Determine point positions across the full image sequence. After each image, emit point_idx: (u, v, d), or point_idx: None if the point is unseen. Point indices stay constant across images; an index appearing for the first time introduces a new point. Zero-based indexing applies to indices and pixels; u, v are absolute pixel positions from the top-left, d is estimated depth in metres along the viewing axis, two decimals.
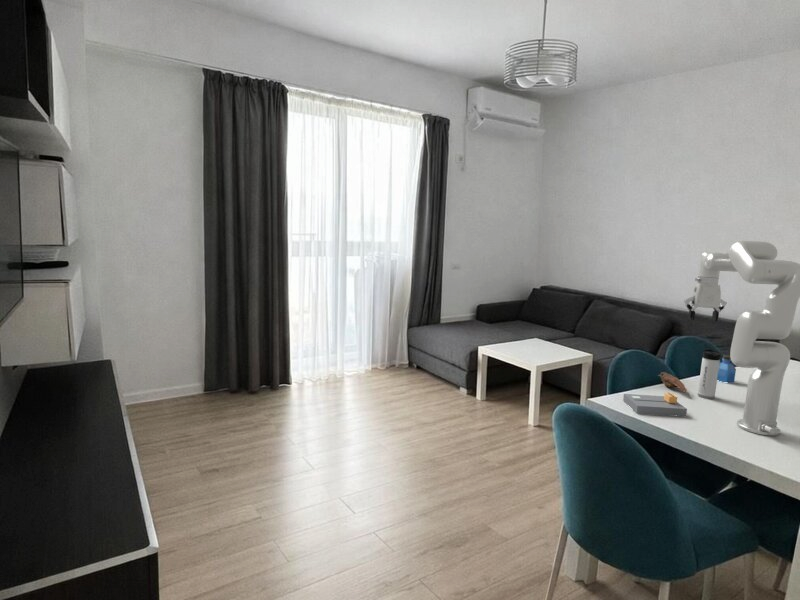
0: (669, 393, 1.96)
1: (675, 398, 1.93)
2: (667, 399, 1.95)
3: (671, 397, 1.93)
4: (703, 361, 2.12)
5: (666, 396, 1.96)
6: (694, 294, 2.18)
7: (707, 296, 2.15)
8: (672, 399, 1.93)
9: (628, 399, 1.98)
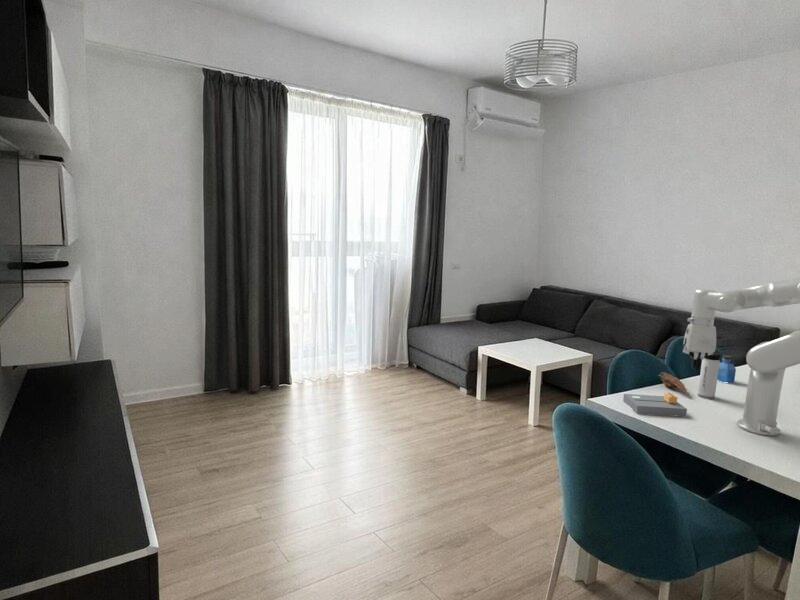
0: (669, 393, 1.96)
1: (675, 398, 1.93)
2: (667, 399, 1.95)
3: (671, 397, 1.93)
4: (703, 361, 2.12)
5: (666, 396, 1.96)
6: (686, 336, 1.91)
7: (701, 339, 1.89)
8: (672, 399, 1.93)
9: (628, 399, 1.98)
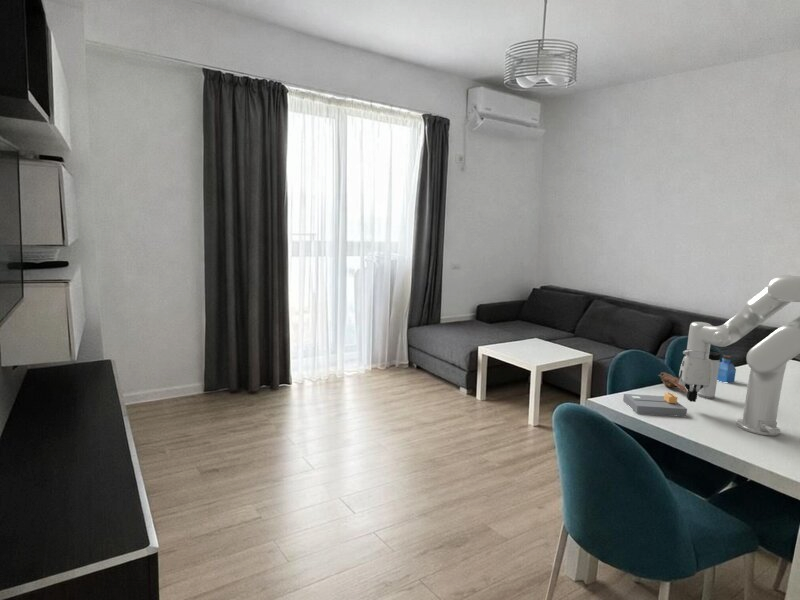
0: (669, 393, 1.96)
1: (675, 398, 1.93)
2: (667, 399, 1.95)
3: (671, 397, 1.93)
4: None
5: (666, 396, 1.96)
6: (682, 369, 1.93)
7: (696, 372, 1.90)
8: (672, 399, 1.93)
9: (628, 399, 1.98)
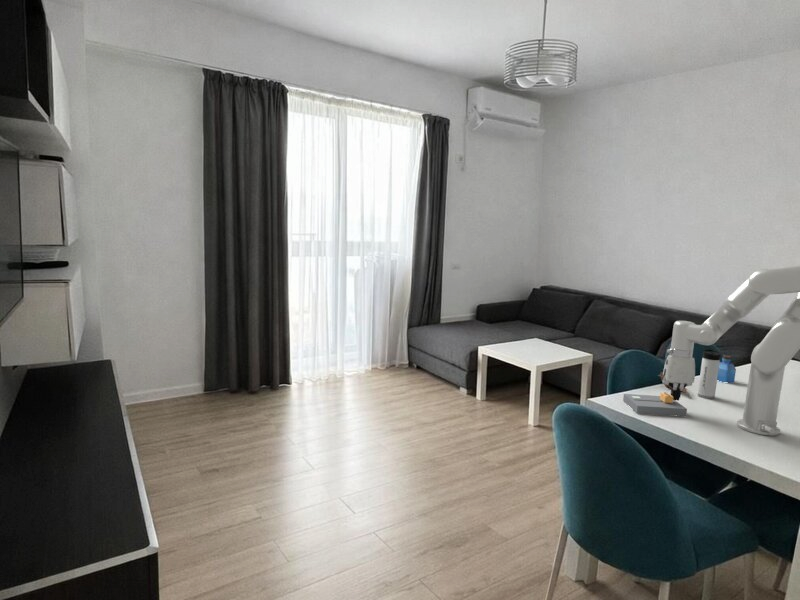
0: (665, 393, 1.96)
1: (671, 398, 1.93)
2: (663, 399, 1.95)
3: (667, 397, 1.93)
4: (703, 361, 2.12)
5: (662, 396, 1.96)
6: (665, 367, 1.94)
7: (680, 371, 1.91)
8: (668, 399, 1.93)
9: (628, 399, 1.98)
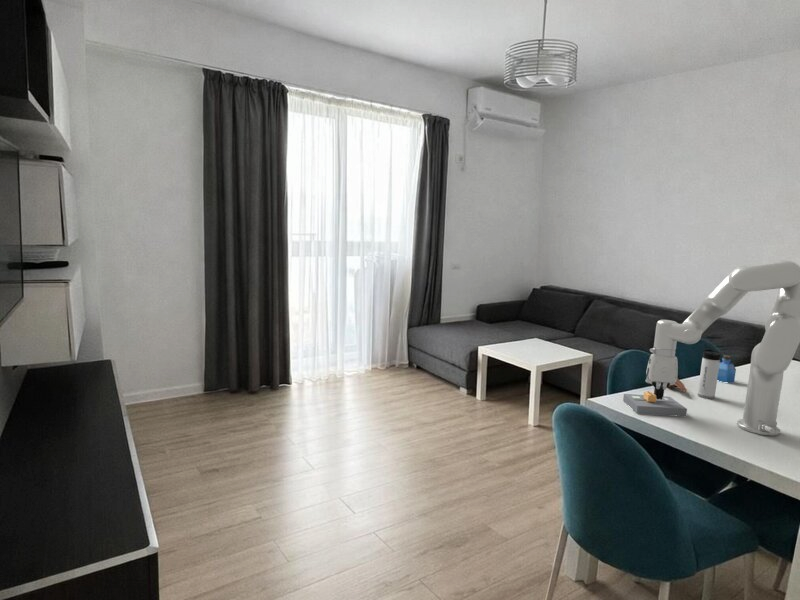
0: (648, 392, 1.97)
1: (654, 397, 1.94)
2: (646, 398, 1.95)
3: (650, 396, 1.94)
4: (703, 361, 2.12)
5: (645, 395, 1.96)
6: (648, 366, 1.94)
7: (662, 370, 1.91)
8: (651, 398, 1.94)
9: (628, 399, 1.98)
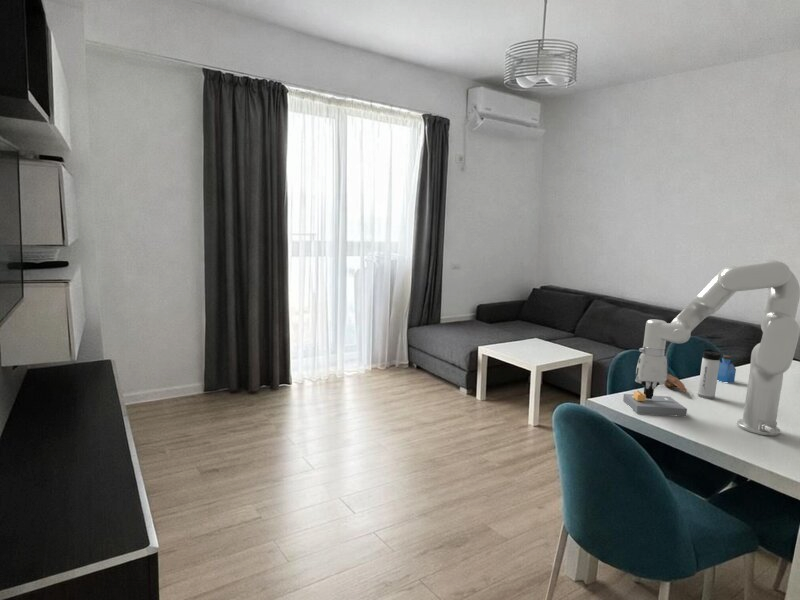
0: (638, 391, 1.97)
1: (643, 396, 1.94)
2: (636, 397, 1.95)
3: (640, 395, 1.94)
4: (703, 361, 2.12)
5: (635, 394, 1.96)
6: (638, 366, 1.94)
7: (652, 369, 1.91)
8: (640, 397, 1.94)
9: (628, 399, 1.98)
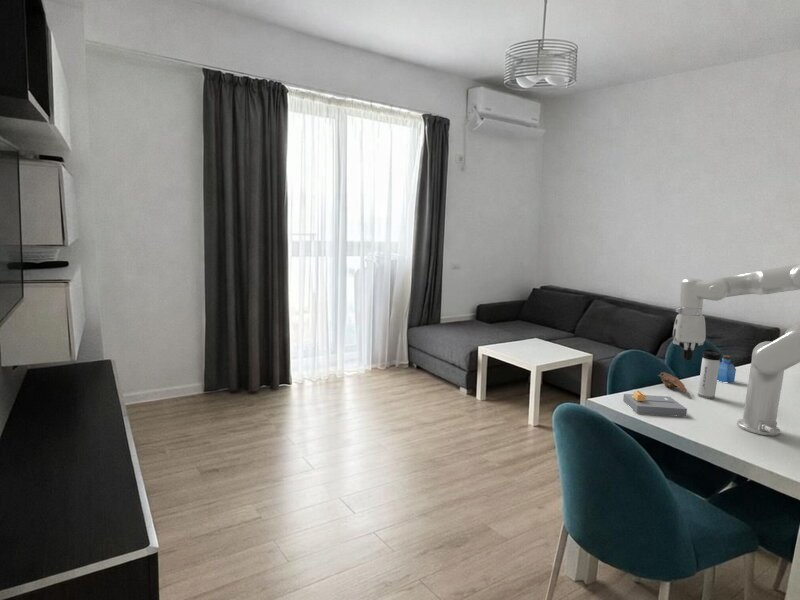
0: (638, 391, 1.97)
1: (643, 396, 1.94)
2: (636, 397, 1.95)
3: (639, 395, 1.94)
4: (703, 361, 2.12)
5: (635, 394, 1.96)
6: (675, 327, 1.90)
7: (690, 329, 1.87)
8: (640, 397, 1.94)
9: (628, 399, 1.98)
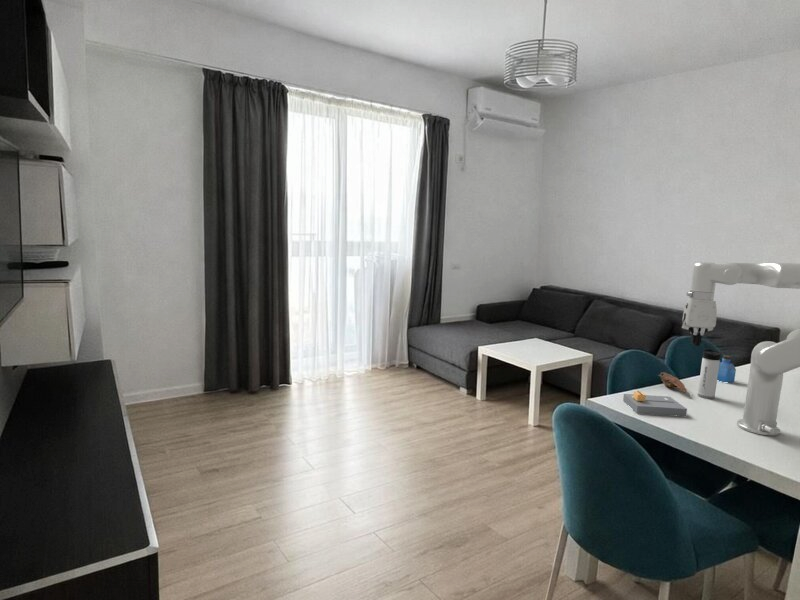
0: (638, 391, 1.97)
1: (643, 396, 1.94)
2: (636, 397, 1.95)
3: (639, 395, 1.94)
4: (703, 361, 2.12)
5: (635, 394, 1.96)
6: (685, 311, 1.85)
7: (700, 314, 1.82)
8: (640, 397, 1.94)
9: (628, 399, 1.98)
